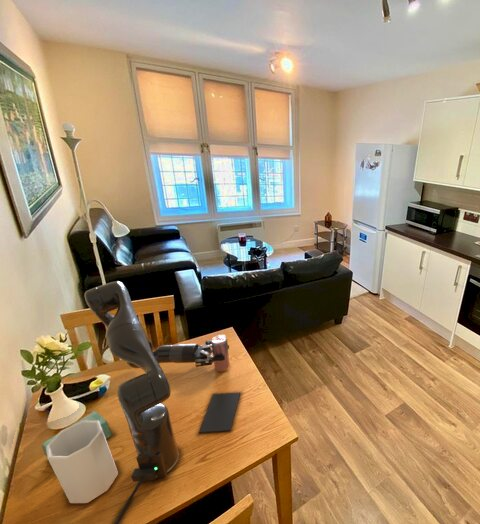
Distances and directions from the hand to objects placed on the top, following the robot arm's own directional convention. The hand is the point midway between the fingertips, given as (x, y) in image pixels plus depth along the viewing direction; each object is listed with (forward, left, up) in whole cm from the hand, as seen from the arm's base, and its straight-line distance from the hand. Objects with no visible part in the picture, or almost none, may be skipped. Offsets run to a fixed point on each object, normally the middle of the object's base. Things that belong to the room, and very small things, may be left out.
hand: (226, 352), depth 122 cm
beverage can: (0, +3, -8) cm, 9 cm away
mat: (-22, -3, -9) cm, 24 cm away
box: (-32, +36, -9) cm, 49 cm away
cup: (-43, +26, -9) cm, 52 cm away
